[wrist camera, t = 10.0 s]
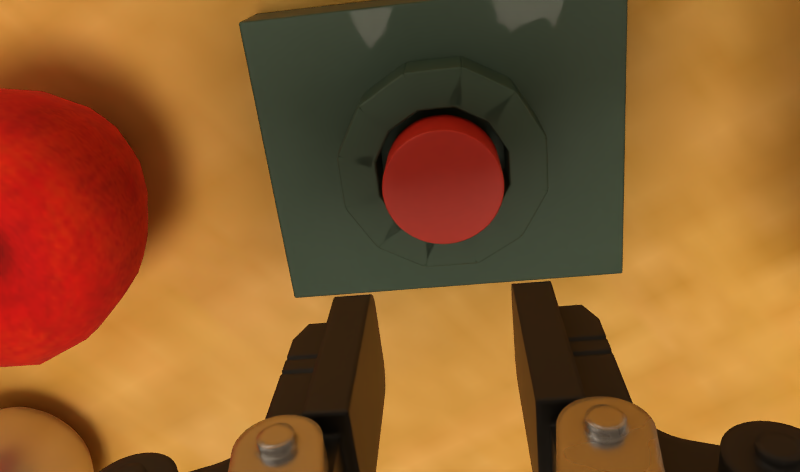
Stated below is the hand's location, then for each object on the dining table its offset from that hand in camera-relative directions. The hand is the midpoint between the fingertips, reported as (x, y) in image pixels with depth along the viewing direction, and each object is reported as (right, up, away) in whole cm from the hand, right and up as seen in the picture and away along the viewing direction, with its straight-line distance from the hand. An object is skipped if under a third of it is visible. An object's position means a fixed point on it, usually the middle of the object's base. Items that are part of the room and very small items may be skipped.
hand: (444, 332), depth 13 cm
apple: (-13, +4, +13) cm, 19 cm away
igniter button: (0, +4, +9) cm, 9 cm away
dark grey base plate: (+1, +5, +12) cm, 13 cm away
